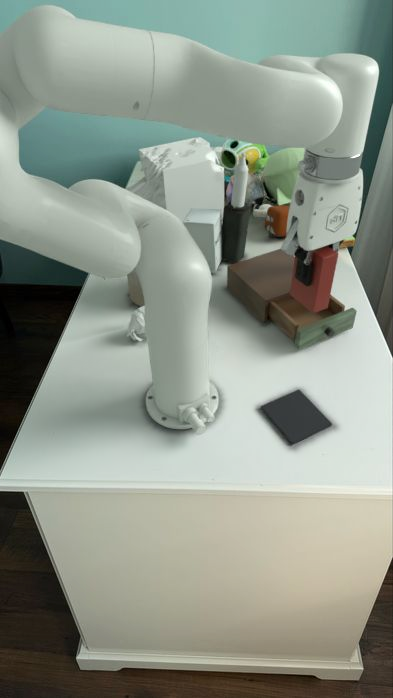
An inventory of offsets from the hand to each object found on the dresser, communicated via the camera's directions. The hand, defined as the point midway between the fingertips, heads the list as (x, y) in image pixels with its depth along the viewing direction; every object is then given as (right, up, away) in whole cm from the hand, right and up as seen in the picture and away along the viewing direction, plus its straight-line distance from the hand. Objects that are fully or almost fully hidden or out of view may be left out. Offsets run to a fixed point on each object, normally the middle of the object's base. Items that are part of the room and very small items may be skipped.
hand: (312, 277), depth 80 cm
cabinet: (-1, 0, +32) cm, 32 cm away
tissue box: (-12, +33, +54) cm, 64 cm away
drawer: (+4, -6, +23) cm, 24 cm away
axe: (-34, +42, +79) cm, 96 cm away
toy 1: (+5, +42, +60) cm, 73 cm away
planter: (-27, +1, +33) cm, 43 cm away
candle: (-10, +11, +44) cm, 46 cm away
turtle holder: (+1, +50, +78) cm, 93 cm away
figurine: (-25, -8, +24) cm, 36 cm away
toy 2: (-1, +26, +58) cm, 64 cm away
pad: (-1, -23, +6) cm, 24 cm away
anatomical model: (-2, +34, +63) cm, 72 cm away
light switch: (-12, +49, +84) cm, 97 cm away
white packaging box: (-16, +9, +42) cm, 46 cm away
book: (0, -4, +3) cm, 5 cm away
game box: (+16, +14, +45) cm, 50 cm away
